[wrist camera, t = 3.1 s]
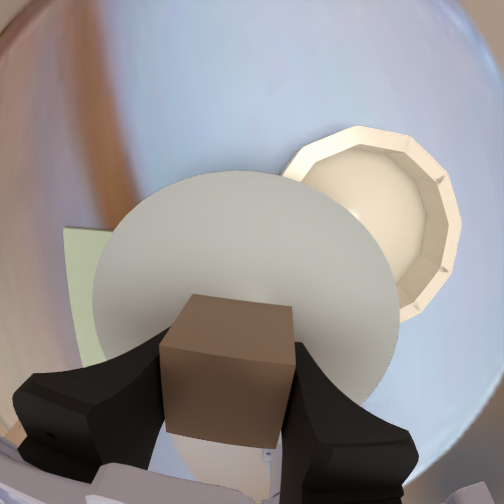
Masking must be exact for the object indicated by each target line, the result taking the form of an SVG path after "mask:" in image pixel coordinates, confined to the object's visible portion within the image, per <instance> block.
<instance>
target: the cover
mask: <svg viewBox="0 0 504 504" xmlns="http://www.w3.org/2000/svg"><path fill="white" fill-rule="evenodd" d="M92 309H93V319H94V324H95V329H96V333H97V337H98V340H99V343H100V346H101V349H102V351H103V353H104V355H105V357H106V359H107V360H110V359H112V358H115V357H117V356H119V355H122V354H124V353H126V352H128V351H129V350H131V349H133V348H135V347H137V346H139V345H141V344H143V343H144V342H146V341H147V340H149V339H151V338H152V337H154V336H156V335H157V334H159V333H160V332H162V331H163V330H165V329H167V328H168V327H170V326H171V327H170V329H169V331H168V332H167V334H166V335H165V337H164V338H163V340H162V341H161V343H160V344H159V352H160V368H161V382H162V394H163V405H164V415H165V420H164V421H165V424H166V432H168V433H173V434H177V435H182V436H187V437H191V438H196V439H202V440H207V441H213V442H219V443H224V444H231V445H239V446H247V447H255V448H265V449H276V447H277V444H282V437H281V427H282V423H283V419H284V415H285V411H286V407H287V402H288V398H289V394H290V389H291V385H292V381H293V376H294V371H295V367H296V359H295V343H294V342H302V343H303V344H304V346H305V347H306V349H307V350H308V352H309V353H310V355H311V356H312V358H313V359H314V361H315V362H316V363H317V365H318V366H319V367H320V369H321V370H322V371H323V372H324V374H325V375H326V376H327V377H328V378H329V379H330V381H331V382H332V383H333V384H334V385H335V386H336V387H337V388H338V389H339V390H340V391H342V392H343V393H344V394H345V395H346V396H347V397H348V398H350V399H351V400H352V401H353V402H355V403H356V404H358V405H359V406H360V405H361V404H362V403H363V402H364V401H365V400H366V399H367V398H368V397H369V395H370V394H371V393H372V392H373V391H374V389H375V388H376V387H377V385H378V384H379V382H380V381H381V379H382V377H383V376H384V374H385V372H386V371H387V368H388V366H389V364H390V361H391V359H392V357H393V354H394V350H395V347H396V343H397V339H398V332H399V324H400V308H399V297H398V292H397V287H396V282H395V279H394V276H393V273H392V271H391V268H390V265H389V263H388V261H387V259H386V257H385V255H384V253H383V252H382V250H381V248H380V246H379V245H378V243H377V242H376V240H375V239H374V238H373V236H372V235H371V234H370V233H369V231H368V230H367V229H366V227H365V226H364V225H363V224H362V223H361V222H360V221H359V220H358V219H357V218H356V217H355V216H353V215H352V214H351V213H350V212H349V211H348V210H347V209H346V208H344V207H343V206H341V205H340V204H339V203H337V202H336V201H334V200H333V199H331V198H330V197H328V196H327V195H325V194H324V193H322V192H320V191H318V190H316V189H314V188H312V187H310V186H308V185H306V184H304V183H301V182H298V181H295V180H292V179H289V178H286V177H283V176H280V175H274V174H269V173H263V172H257V171H224V172H215V173H207V174H202V175H198V176H195V177H191V178H187V179H184V180H181V181H178V182H176V183H174V184H171V185H169V186H167V187H165V188H162V189H160V190H159V191H157V192H156V193H154V194H152V195H151V196H149V197H148V198H146V199H145V200H143V201H142V202H141V203H139V204H138V205H137V206H136V207H135V208H134V209H133V210H132V211H130V212H129V213H128V214H127V215H126V216H125V217H124V219H123V220H122V221H121V222H120V223H119V225H118V226H117V227H116V228H115V230H114V231H113V233H112V234H111V236H110V238H109V239H108V241H107V243H106V245H105V246H104V249H103V251H102V253H101V256H100V258H99V261H98V264H97V268H96V272H95V276H94V281H93V291H92Z"/></svg>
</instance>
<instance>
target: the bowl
mask: <svg viewBox="0 0 504 504" xmlns="http://www.w3.org/2000/svg"><path fill="white" fill-rule="evenodd" d="M280 176H283V177H286V178H289V179H292V180H295V181H298V182H301V183H304V184H306V185H308V186H310V187H312V188H314V189H316V190H318V191H320V192H322V193H324V194H325V195H327V196H328V197H330V198H331V199H333V200H334V201H336V202H337V203H339V204H340V205H341V206H343V207H344V208H346V209H347V210H348V211H349V212H350V213H351V214H352V215H353V216H355V217H356V218H357V219H358V220H359V221H360V222H361V223H362V224H363V225H364V226H365V227H366V229H367V230H368V231H369V233H370V234H371V235H372V236H373V238H374V239H375V240H376V242H377V243H378V245H379V246H380V248H381V250H382V252H383V253H384V255H385V257H386V259H387V261H388V263H389V265H390V268H391V271H392V273H393V276H394V279H395V282H396V287H397V292H398V297H399V308H400V323H401V322H403V321H405V320H407V319H409V318H411V317H414V316H416V315H418V314H419V313H420V312H422V310H423V309H424V308H425V307H426V306H427V304H428V303H429V302H430V301H431V299H432V298H433V297H434V296H435V294H436V293H437V292H438V290H439V289H440V288H441V287H442V285H443V284H444V283H445V281H446V280H447V279H448V277H449V276H450V275H451V273H452V268H453V264H454V260H455V255H456V251H457V246H458V241H459V236H460V230H461V225H462V224H461V223H462V222H461V218H460V214H459V210H458V206H457V203H456V199H455V195H454V192H453V189H452V185H451V182H450V179H449V176H448V174H447V172H446V171H445V170H444V169H443V168H442V167H441V166H440V165H439V164H438V163H437V162H436V161H435V160H434V159H433V158H432V157H431V156H430V155H429V154H428V153H427V152H426V151H425V150H424V149H423V148H422V147H421V146H420V145H419V144H418V143H417V142H416V141H415V140H414V139H412V138H411V137H409V136H407V135H403V134H398V133H393V132H389V131H384V130H379V129H374V128H368V127H363V126H353V127H351V128H348V129H346V130H343V131H341V132H338V133H336V134H333V135H331V136H328V137H326V138H323V139H321V140H319V141H316V142H314V143H311V144H309V145H307V146H304V147H302V148H301V149H299V150H298V151H297V152H296V153H295V155H294V156H293V157H292V159H291V160H290V161H289V163H288V164H287V166H286V167H285V168H284V170H283V171H282V173H281V174H280Z"/></svg>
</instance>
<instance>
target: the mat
mask: <svg viewBox="0 0 504 504" xmlns="http://www.w3.org/2000/svg"><path fill="white" fill-rule="evenodd" d="M112 233H113V231H112V230H100V229H89V228H77V227H64V228H63V235H64V250H65V261H66V271H67V280H68V288H69V295H70V302H71V309H72V315H73V321H74V327H75V332H76V337H77V342H78V347H79V352H80V356H81V361H82V365H83V368H84V367H88V366H91V365H95V364H98V363H102V362H104V361H107V359H106V357H105V355H104V353H103V351H102V349H101V346H100V343H99V340H98V337H97V333H96V329H95V324H94V319H93V309H92V291H93V281H94V276H95V272H96V268H97V264H98V261H99V258H100V256H101V253H102V251H103V249H104V246H105V245H106V243H107V241H108V239H109V238H110V236H111V234H112Z"/></svg>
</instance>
